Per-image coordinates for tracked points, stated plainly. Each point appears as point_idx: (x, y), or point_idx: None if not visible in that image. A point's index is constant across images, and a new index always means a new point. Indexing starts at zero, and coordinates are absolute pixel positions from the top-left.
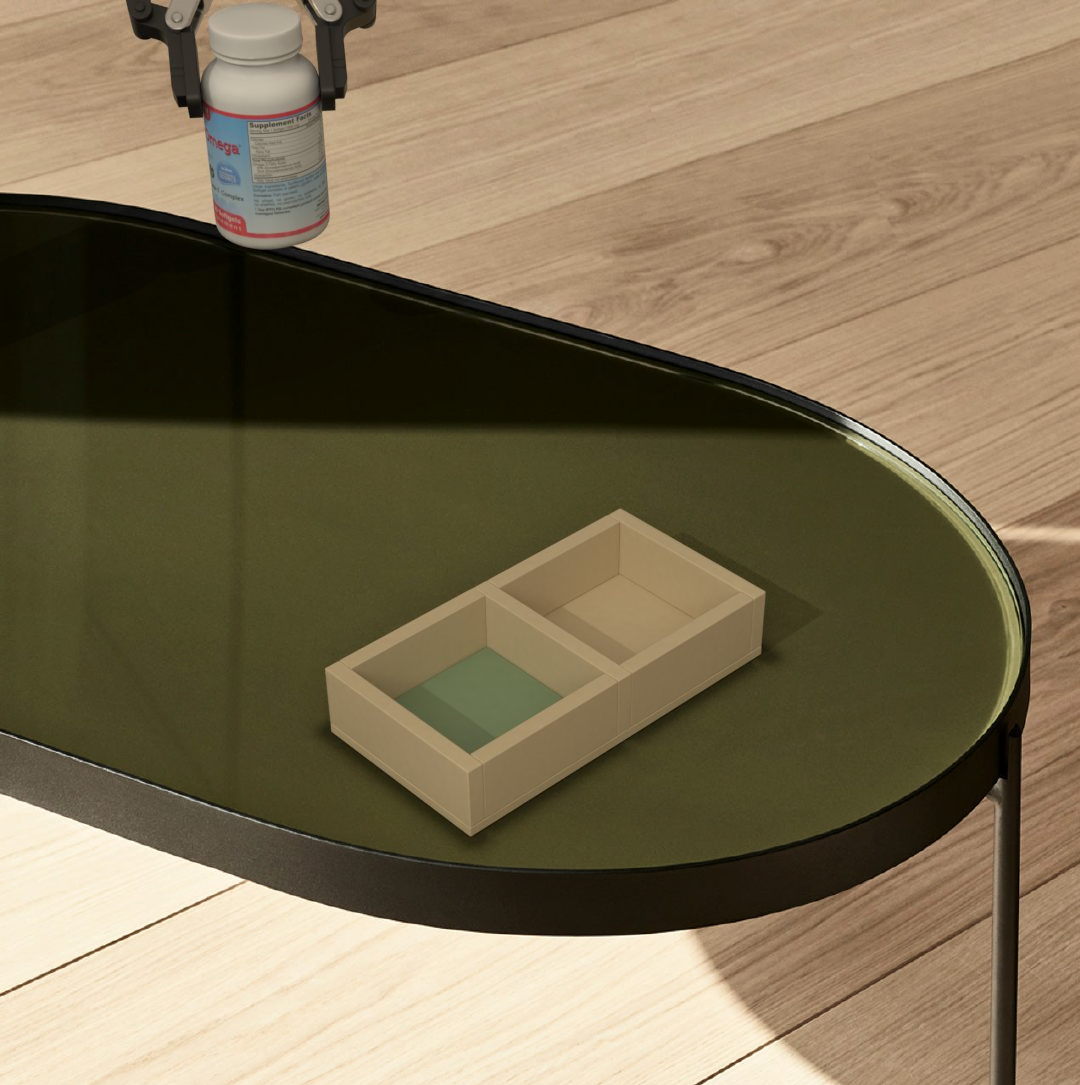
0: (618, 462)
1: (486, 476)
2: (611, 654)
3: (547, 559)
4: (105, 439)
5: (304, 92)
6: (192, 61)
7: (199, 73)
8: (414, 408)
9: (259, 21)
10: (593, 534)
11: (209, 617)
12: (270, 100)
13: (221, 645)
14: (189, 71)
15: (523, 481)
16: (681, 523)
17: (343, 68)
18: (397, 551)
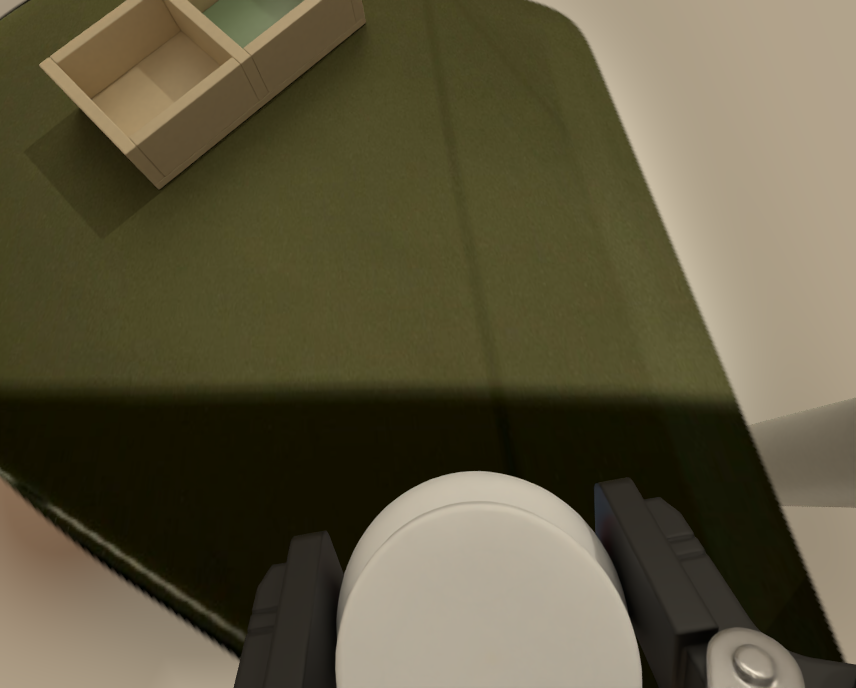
0: (136, 338)
1: (255, 312)
2: (176, 86)
3: (192, 88)
4: (625, 363)
5: (363, 536)
6: (647, 551)
7: (638, 631)
8: (322, 429)
9: (464, 643)
10: (152, 120)
11: (467, 122)
12: (434, 479)
13: (452, 94)
14: (646, 531)
15: (223, 305)
16: (100, 250)
17: (260, 609)
18: (330, 204)
